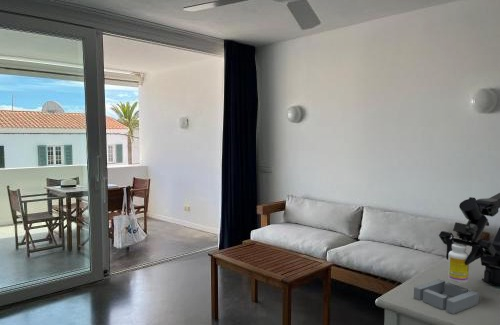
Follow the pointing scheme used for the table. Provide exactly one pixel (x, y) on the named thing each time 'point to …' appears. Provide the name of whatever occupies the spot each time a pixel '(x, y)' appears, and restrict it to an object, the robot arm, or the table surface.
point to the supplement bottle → (458, 264)
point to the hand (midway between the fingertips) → (456, 261)
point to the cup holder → (452, 305)
